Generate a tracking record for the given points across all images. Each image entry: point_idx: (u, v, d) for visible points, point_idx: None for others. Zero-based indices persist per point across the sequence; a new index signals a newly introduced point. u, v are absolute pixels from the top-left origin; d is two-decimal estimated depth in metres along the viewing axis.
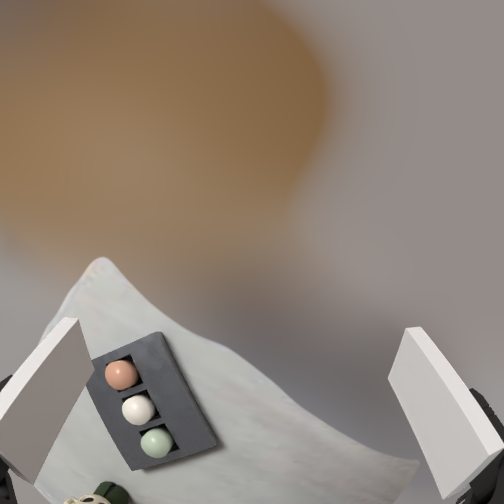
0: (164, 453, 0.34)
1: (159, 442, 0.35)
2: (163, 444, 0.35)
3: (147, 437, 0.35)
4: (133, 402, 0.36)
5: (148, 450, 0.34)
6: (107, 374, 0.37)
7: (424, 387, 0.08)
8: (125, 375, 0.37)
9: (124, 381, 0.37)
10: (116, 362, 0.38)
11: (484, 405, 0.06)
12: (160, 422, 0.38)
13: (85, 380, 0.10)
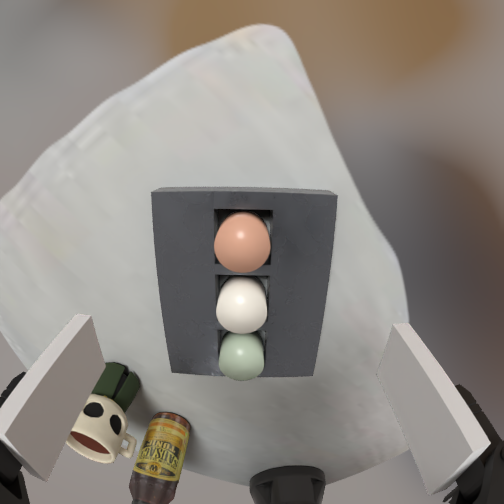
0: (249, 377, 0.28)
1: (252, 363, 0.27)
2: (257, 366, 0.27)
3: (237, 352, 0.27)
4: (246, 299, 0.25)
5: (227, 367, 0.27)
6: (221, 237, 0.23)
7: (410, 382, 0.08)
8: (258, 251, 0.23)
9: (250, 260, 0.24)
10: (252, 223, 0.23)
11: (472, 401, 0.07)
12: (260, 328, 0.29)
13: (97, 377, 0.10)
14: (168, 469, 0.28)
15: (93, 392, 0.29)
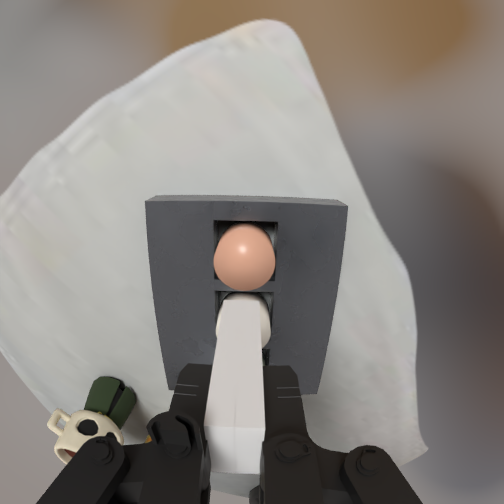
0: None
1: None
2: None
3: None
4: None
5: None
6: (221, 252, 0.21)
7: None
8: (262, 268, 0.21)
9: (253, 278, 0.22)
10: (256, 237, 0.21)
11: (297, 386, 0.09)
12: None
13: None
14: None
15: (87, 408, 0.27)
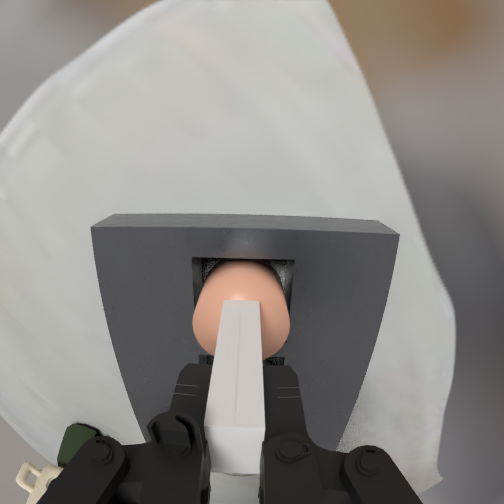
0: None
1: None
2: None
3: None
4: None
5: None
6: (204, 312, 0.13)
7: None
8: (268, 335, 0.13)
9: None
10: (259, 290, 0.12)
11: (297, 386, 0.09)
12: None
13: None
14: None
15: (60, 461, 0.19)
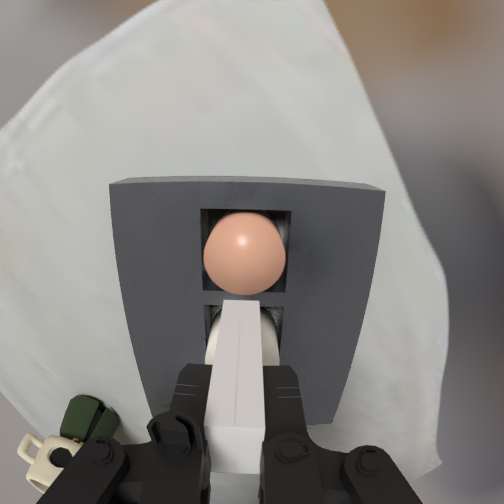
0: None
1: None
2: None
3: None
4: None
5: None
6: (214, 245, 0.16)
7: None
8: (267, 266, 0.16)
9: (256, 278, 0.16)
10: (259, 225, 0.15)
11: (297, 386, 0.09)
12: None
13: None
14: None
15: (62, 432, 0.21)
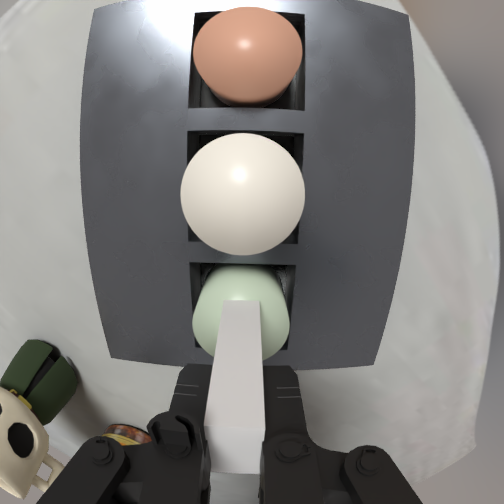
0: None
1: (265, 323, 0.13)
2: (274, 331, 0.13)
3: (233, 295, 0.12)
4: (255, 156, 0.10)
5: (210, 334, 0.13)
6: (208, 33, 0.09)
7: None
8: (279, 57, 0.10)
9: (263, 73, 0.10)
10: (267, 12, 0.09)
11: (297, 386, 0.09)
12: (282, 259, 0.14)
13: None
14: None
15: (1, 382, 0.14)
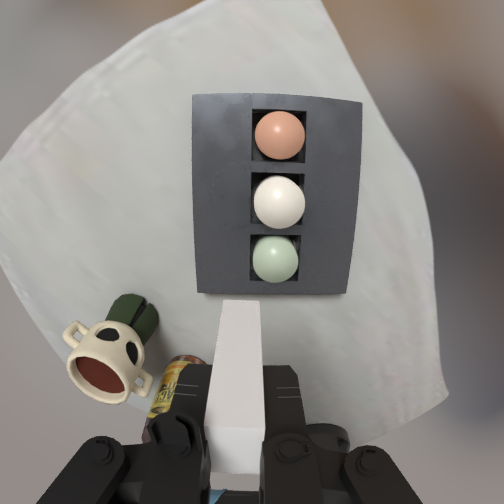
0: (283, 278, 0.29)
1: (287, 259, 0.29)
2: (291, 264, 0.29)
3: (272, 246, 0.28)
4: (285, 188, 0.25)
5: (261, 266, 0.29)
6: (262, 126, 0.24)
7: None
8: (294, 140, 0.25)
9: (287, 148, 0.25)
10: (289, 115, 0.24)
11: (297, 386, 0.09)
12: (295, 232, 0.29)
13: None
14: None
15: None
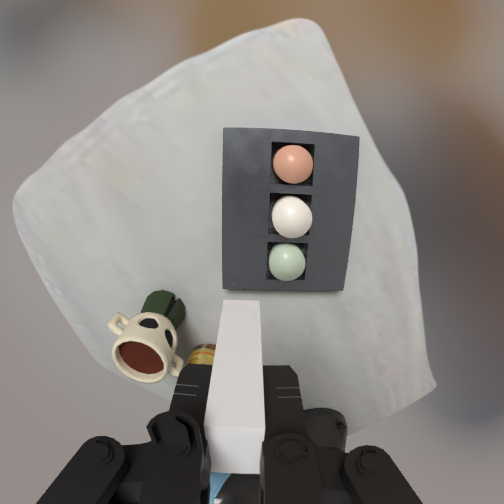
0: (293, 277, 0.36)
1: (296, 262, 0.36)
2: (300, 266, 0.36)
3: (285, 251, 0.35)
4: (297, 207, 0.32)
5: (276, 267, 0.36)
6: (279, 157, 0.32)
7: None
8: (304, 168, 0.32)
9: (299, 174, 0.32)
10: (301, 148, 0.31)
11: (297, 386, 0.09)
12: (303, 241, 0.36)
13: None
14: None
15: None
